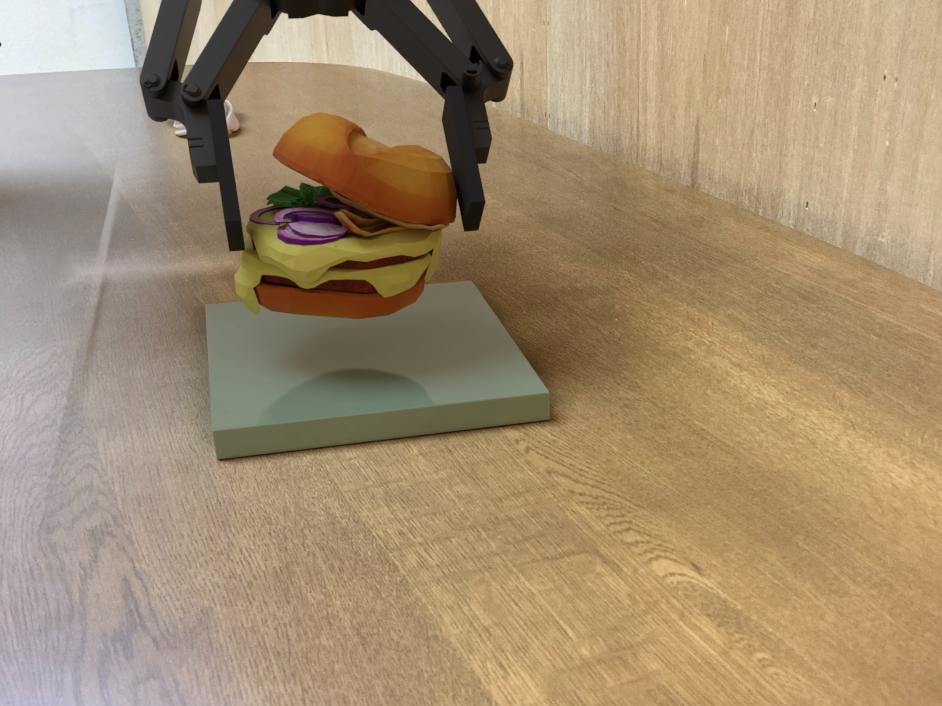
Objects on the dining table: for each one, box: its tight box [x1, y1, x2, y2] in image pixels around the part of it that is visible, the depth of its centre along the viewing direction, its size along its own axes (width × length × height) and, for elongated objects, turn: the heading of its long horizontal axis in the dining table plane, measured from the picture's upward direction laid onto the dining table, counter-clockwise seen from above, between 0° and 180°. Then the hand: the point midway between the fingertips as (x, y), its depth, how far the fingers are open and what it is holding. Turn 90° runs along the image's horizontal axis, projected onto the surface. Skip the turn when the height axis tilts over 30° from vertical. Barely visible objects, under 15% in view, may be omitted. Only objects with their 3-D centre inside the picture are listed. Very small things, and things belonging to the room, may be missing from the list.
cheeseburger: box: [233, 111, 458, 319], centre depth 58 cm, size 10×11×10 cm
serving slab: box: [204, 280, 551, 460], centre depth 62 cm, size 18×16×2 cm
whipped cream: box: [173, 99, 240, 136], centre depth 116 cm, size 8×7×5 cm
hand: (357, 226), depth 55 cm, fingers closed on cheeseburger, 11 cm apart
